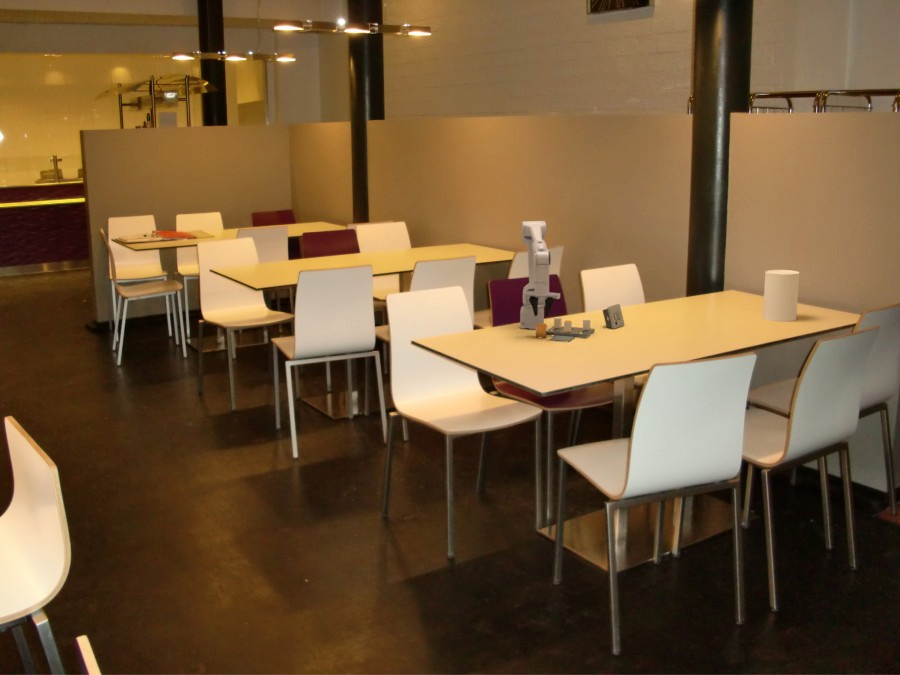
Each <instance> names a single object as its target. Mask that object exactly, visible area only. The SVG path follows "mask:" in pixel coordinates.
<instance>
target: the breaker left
mask: <svg viewBox="0 0 900 675" xmlns="http://www.w3.org/2000/svg"><path fill="white" fill-rule="evenodd" d="M562 322H563V320H562V317H557V316H555V317H554V318H553V326H554V328H561V326H562Z"/></svg>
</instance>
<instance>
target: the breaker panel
mask: <svg viewBox="0 0 900 675" xmlns="http://www.w3.org/2000/svg"><path fill="white" fill-rule="evenodd" d="M595 331H596V329H595V328H591V327H590V330H583V327H576V326H575V327H574V326H572V331H571V332H567V331H565V332H564V325H561V328H554V325H553V326H552V327H550V328H548V329H546V332H547V335H554V336H555V335H557V336H571V337H581V338H580V339H588V338H589V337H590V336H592V335H593V334H594V333H595ZM591 334H592V335H591ZM554 336H553V337H554ZM587 337H588V338H587Z"/></svg>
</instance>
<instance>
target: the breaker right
mask: <svg viewBox="0 0 900 675" xmlns="http://www.w3.org/2000/svg"><path fill="white" fill-rule="evenodd" d="M582 328H583V330H590V328H591V319H587V318H583V320H582Z"/></svg>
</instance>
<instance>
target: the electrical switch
mask: <svg viewBox="0 0 900 675" xmlns="http://www.w3.org/2000/svg"><path fill="white" fill-rule="evenodd" d="M602 314H603V318H604V322H605V327H606V328H607V329H609V328H611V329H612V330H615V329H618V328H620V327H624V326H625V321H624V316H623V311H622V309H621V305H620V303H617V304H613V305H610V306H607V308H605V309H602Z"/></svg>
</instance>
